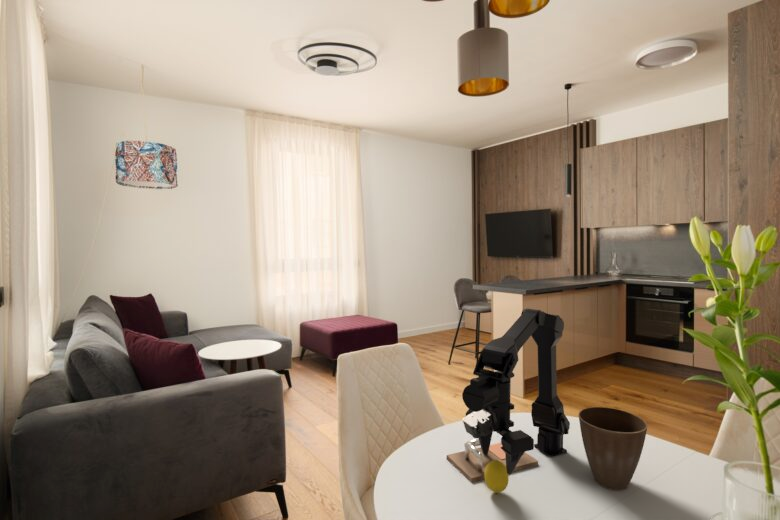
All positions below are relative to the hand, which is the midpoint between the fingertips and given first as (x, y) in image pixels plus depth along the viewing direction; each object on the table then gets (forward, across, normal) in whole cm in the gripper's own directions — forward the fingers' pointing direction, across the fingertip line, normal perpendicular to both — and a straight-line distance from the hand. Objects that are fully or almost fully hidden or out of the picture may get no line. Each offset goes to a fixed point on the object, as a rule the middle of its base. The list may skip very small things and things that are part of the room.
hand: (496, 463), depth 99 cm
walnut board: (+7, -12, +7) cm, 16 cm away
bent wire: (+7, -11, +4) cm, 14 cm away
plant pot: (+7, +7, +29) cm, 31 cm away
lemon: (+7, 0, 0) cm, 7 cm away
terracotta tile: (+7, -14, +13) cm, 20 cm away
